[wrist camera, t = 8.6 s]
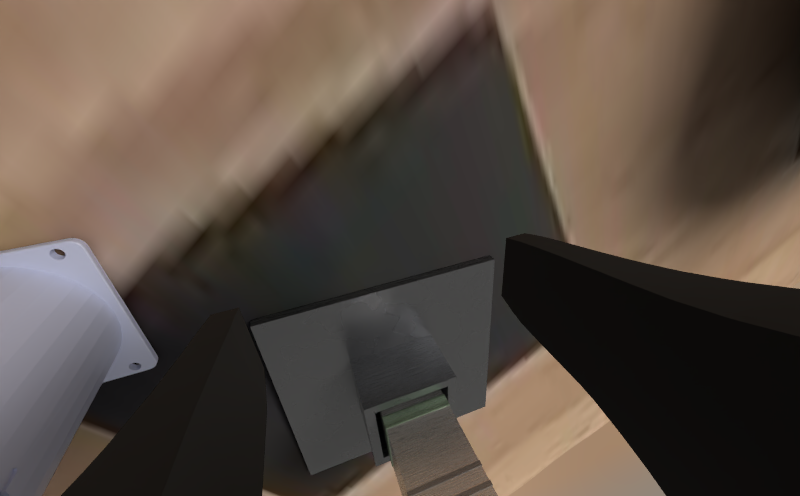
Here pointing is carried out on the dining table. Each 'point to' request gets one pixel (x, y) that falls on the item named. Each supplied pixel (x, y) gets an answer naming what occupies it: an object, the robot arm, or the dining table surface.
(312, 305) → the stand
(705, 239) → the dining table surface
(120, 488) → the robot arm
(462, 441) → the column
